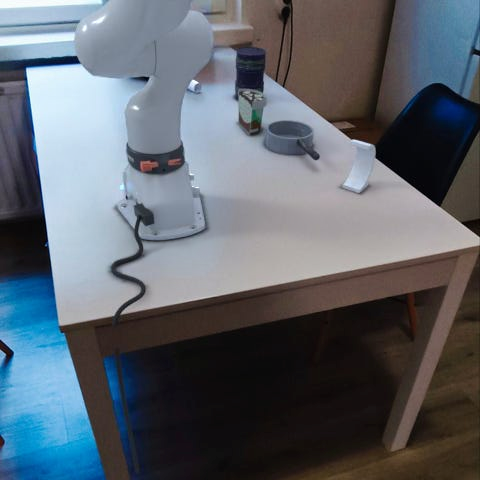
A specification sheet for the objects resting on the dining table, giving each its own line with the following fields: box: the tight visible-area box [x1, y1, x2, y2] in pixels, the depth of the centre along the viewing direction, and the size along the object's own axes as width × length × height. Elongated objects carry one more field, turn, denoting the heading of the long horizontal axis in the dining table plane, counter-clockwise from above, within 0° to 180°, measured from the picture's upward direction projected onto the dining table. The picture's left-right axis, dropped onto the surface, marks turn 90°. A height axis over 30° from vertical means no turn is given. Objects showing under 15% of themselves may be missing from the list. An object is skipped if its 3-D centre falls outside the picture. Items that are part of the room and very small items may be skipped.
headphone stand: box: [341, 139, 376, 194], centre depth 118 cm, size 5×6×12 cm
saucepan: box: [264, 119, 315, 156], centre depth 138 cm, size 13×13×4 cm
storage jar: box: [234, 38, 267, 101], centre depth 162 cm, size 10×10×18 cm
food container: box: [237, 89, 267, 136], centre depth 144 cm, size 12×6×10 cm, turn 21°
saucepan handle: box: [297, 138, 321, 161], centre depth 129 cm, size 12×2×2 cm, turn 20°
